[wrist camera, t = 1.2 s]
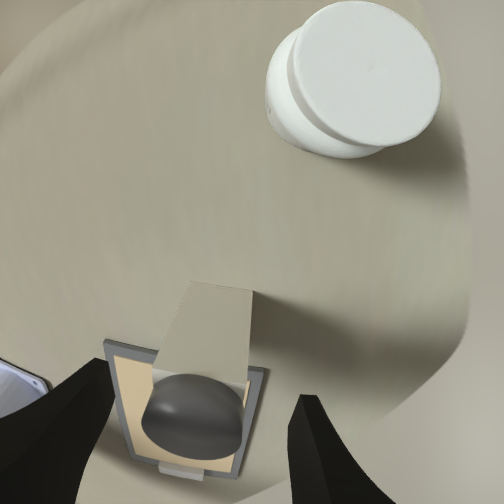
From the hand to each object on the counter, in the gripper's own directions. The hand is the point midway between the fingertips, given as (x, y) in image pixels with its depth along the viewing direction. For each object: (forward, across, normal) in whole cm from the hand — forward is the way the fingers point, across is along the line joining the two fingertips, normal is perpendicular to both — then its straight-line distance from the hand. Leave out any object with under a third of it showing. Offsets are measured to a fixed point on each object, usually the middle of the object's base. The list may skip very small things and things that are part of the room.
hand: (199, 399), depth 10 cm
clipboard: (+6, +2, +11) cm, 13 cm away
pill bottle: (+6, -3, -11) cm, 13 cm away
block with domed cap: (+6, 0, 0) cm, 6 cm away
